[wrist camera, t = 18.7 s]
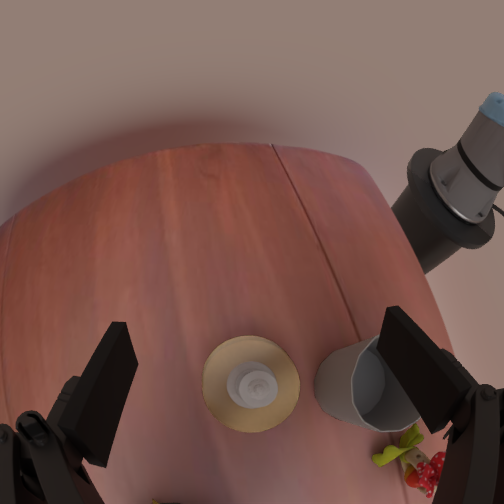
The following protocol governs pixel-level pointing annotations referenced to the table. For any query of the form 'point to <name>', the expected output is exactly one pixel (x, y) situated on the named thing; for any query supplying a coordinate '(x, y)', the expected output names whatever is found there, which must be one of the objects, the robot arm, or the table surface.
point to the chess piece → (252, 385)
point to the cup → (363, 389)
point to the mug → (162, 503)
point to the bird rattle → (414, 462)
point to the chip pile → (239, 353)
